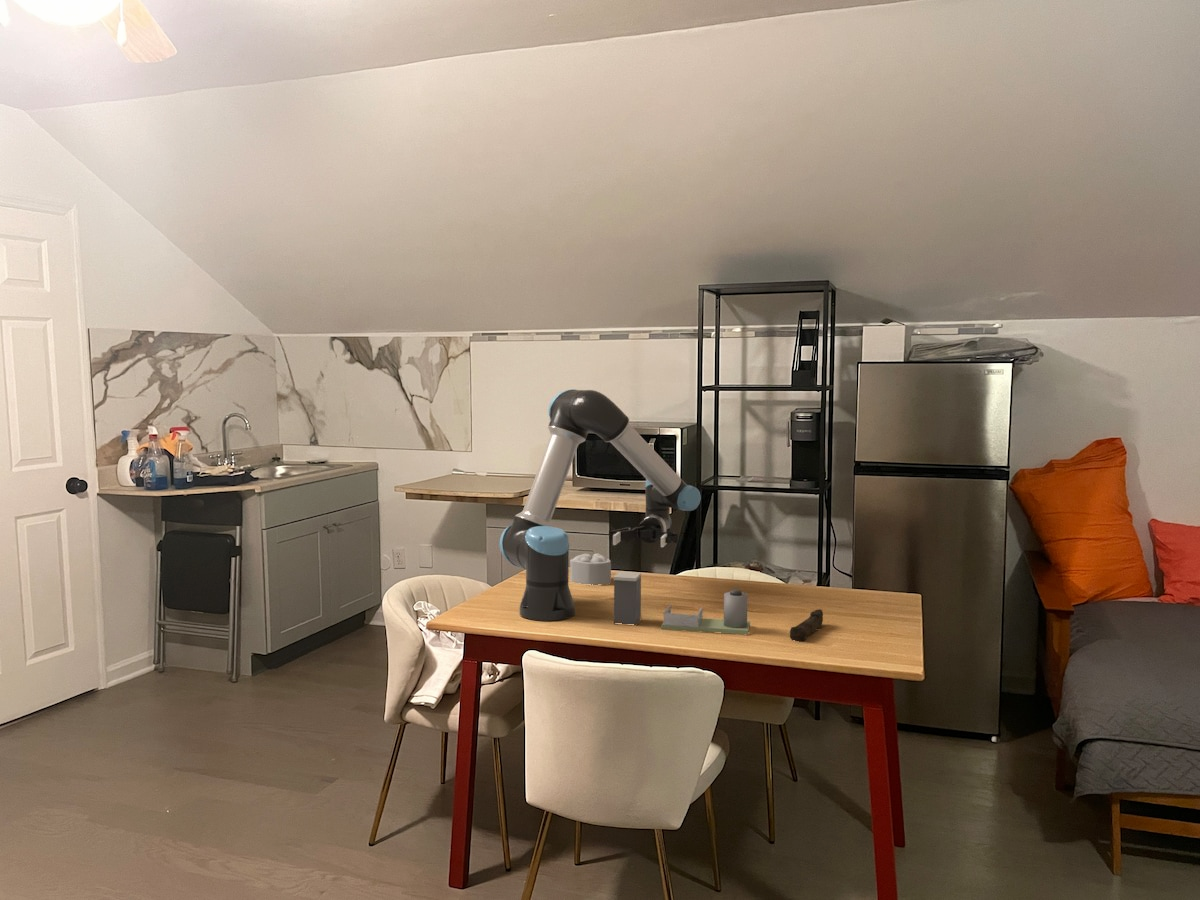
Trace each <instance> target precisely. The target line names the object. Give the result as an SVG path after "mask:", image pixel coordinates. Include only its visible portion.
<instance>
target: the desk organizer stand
mask: <svg viewBox="0 0 1200 900" xmlns="http://www.w3.org/2000/svg"><path fill="white" fill-rule="evenodd" d="M748 596H749V595H748V593H747V592H743V591H742V589H735V588H734V589H730V590H729V591H727V592H724V594H723V619H720V618H705V617H703V619H702V621H701V623H700V625H699V627H689V626H675V625H664V621H663V622H662V623H661V630H667V629H673V630H672V631H681V630H686V631H685V632H695V631H702V632H701V633H709V632H721V633H720V634H723V633H731V634H730V635H736V634H746V635H745V636H748V635H749V633H748V632H749V631H750V629H749V628H751V621H749V620H748V608H749V607H748V603H749V602H748V601H749V599H748Z"/></svg>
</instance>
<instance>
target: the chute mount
mask: <svg viewBox="0 0 1200 900" xmlns="http://www.w3.org/2000/svg"><path fill="white" fill-rule="evenodd" d="M703 613H704V612H703V607H702V606H701V607H700V608H699V610H698V612H697V613H696V614H691V613H690V614H686V613H676V612H675V613H673V612H672V605H671V604H670V605H668V606H667V607H666V609H665V610H664V612H663V622H664V625H675V626H689V627H699V625H700V623H701V621H702V619H703V618H704V617H703V615H704V614H703Z"/></svg>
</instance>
